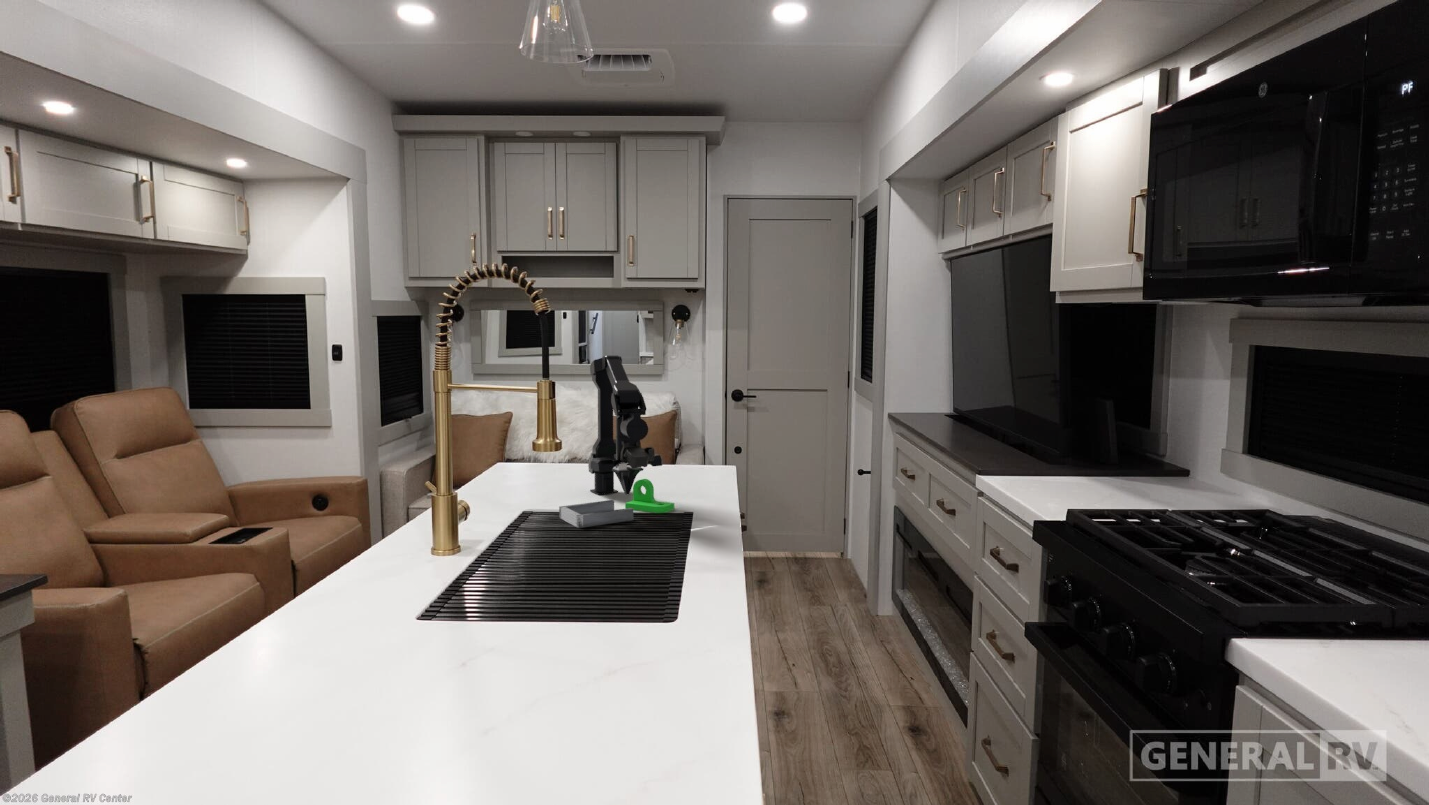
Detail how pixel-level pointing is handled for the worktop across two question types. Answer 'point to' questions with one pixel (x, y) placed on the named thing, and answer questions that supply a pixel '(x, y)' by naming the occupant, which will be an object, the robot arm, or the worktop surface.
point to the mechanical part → (647, 499)
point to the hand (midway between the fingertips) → (627, 494)
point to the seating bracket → (594, 514)
